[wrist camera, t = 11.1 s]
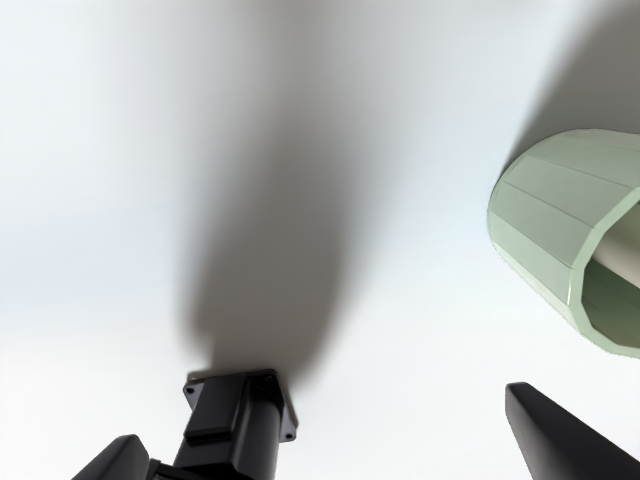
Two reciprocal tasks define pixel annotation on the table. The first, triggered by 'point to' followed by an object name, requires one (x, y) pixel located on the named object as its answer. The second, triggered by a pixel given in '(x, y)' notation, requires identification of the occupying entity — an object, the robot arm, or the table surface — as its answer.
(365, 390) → the table surface
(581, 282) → the pen holder
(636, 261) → the glue stick
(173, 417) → the table surface
